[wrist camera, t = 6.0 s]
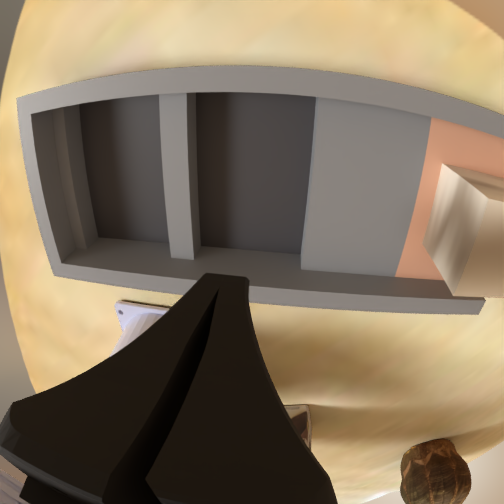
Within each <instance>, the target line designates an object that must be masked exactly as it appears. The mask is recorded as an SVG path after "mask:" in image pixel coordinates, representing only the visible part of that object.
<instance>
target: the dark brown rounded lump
mask: <svg viewBox="0 0 504 504" xmlns="http://www.w3.org/2000/svg"><path fill="white" fill-rule="evenodd" d="M401 475H402V482H401V487H400V492H401V496H402V498H403V500H404V502H405V503H406V504H462V503H463V502H464V500H465V499H466V497H467V496H468V494H469V492H470V489H471V474H470V470H469V468H468V465H467V463H466V462H465V461H464V460H463V459H462V457H461V456H460V455H459V454H458V453H457V452H456V449H455V446H454V445H453V443H452V442H451V441H450V440H446V439H437V440H431V441H428V442H425V443H422V444H419V445H416V446H413V447H411V449H410V450H408V451H407V452H406V453H405V454H404V455H403V458H402V462H401Z"/></svg>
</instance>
